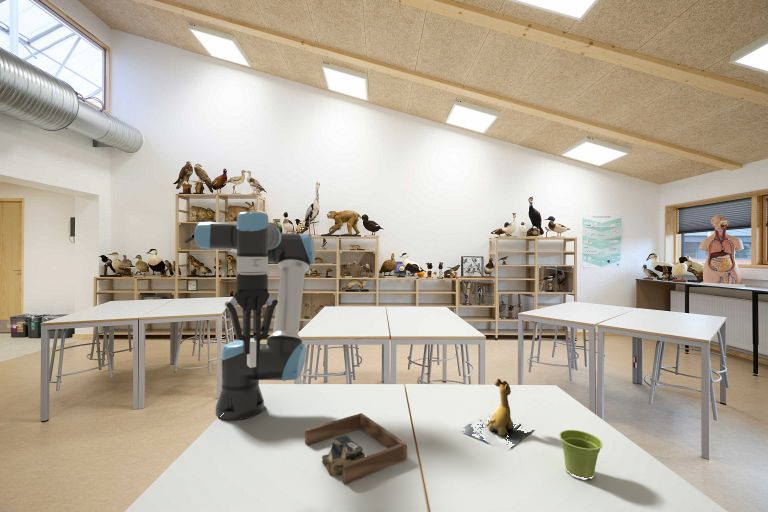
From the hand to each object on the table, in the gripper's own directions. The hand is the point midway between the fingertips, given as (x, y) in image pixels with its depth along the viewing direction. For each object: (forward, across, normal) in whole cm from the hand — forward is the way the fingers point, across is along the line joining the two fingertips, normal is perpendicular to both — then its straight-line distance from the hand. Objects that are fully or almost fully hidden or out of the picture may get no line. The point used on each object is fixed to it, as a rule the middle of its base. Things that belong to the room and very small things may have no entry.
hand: (251, 365), depth 95 cm
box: (+24, +24, -11) cm, 36 cm away
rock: (+25, +18, -15) cm, 34 cm away
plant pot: (+25, +65, -51) cm, 86 cm away
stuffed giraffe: (+25, +66, -25) cm, 75 cm away
